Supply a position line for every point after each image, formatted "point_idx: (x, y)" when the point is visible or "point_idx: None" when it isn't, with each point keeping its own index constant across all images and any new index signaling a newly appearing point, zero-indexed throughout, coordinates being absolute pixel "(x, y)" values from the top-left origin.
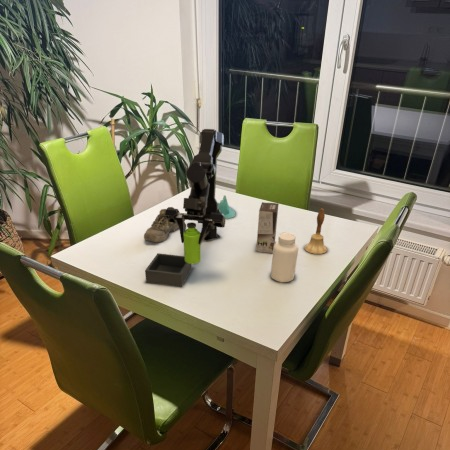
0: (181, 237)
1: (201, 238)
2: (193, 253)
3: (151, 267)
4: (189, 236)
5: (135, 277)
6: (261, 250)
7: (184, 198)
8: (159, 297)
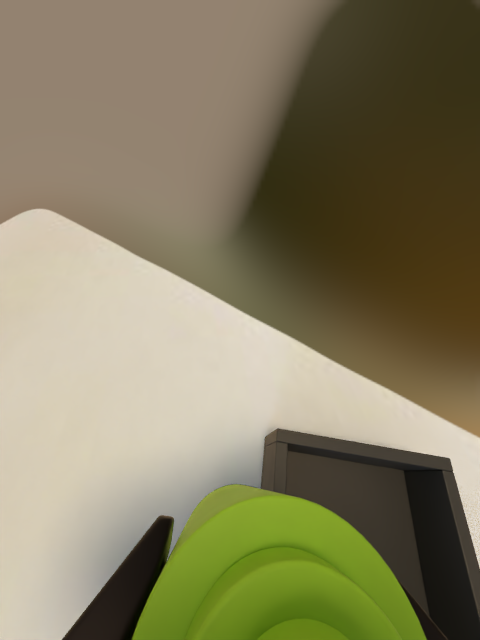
0: (411, 605)
1: (118, 575)
2: (227, 489)
3: (444, 521)
4: (295, 509)
5: (468, 501)
6: None
7: None
8: (320, 364)
